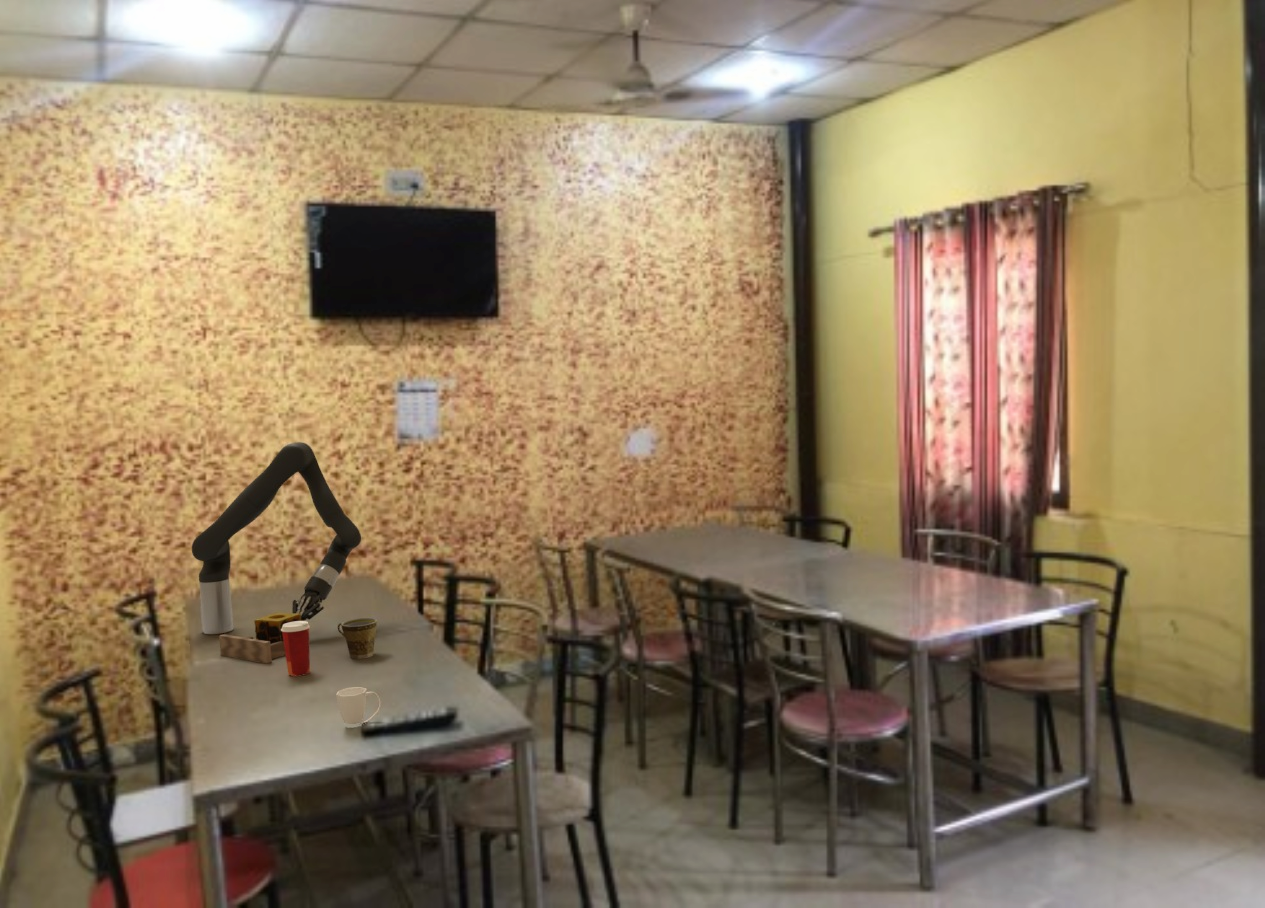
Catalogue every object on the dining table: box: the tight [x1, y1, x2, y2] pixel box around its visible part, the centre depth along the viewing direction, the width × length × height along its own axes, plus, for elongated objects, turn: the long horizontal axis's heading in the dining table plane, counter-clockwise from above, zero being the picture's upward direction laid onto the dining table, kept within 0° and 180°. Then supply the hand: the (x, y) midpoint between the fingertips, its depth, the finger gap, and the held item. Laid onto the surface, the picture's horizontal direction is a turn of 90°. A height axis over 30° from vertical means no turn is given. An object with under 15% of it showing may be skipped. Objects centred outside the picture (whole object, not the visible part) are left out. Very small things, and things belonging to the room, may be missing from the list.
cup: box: [335, 686, 382, 725], centre depth 240 cm, size 7×10×8 cm
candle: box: [253, 612, 301, 650], centre depth 315 cm, size 10×10×10 cm
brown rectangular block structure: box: [218, 633, 286, 664], centre depth 308 cm, size 22×8×6 cm, turn 56°
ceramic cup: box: [337, 617, 378, 660], centre depth 302 cm, size 13×10×10 cm
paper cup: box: [281, 620, 311, 677], centre depth 286 cm, size 8×8×14 cm
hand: (293, 628), depth 320 cm, fingers closed
